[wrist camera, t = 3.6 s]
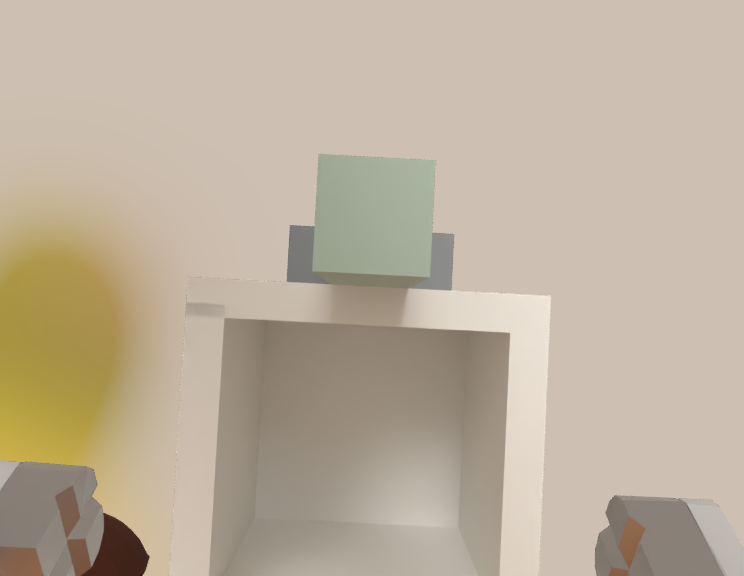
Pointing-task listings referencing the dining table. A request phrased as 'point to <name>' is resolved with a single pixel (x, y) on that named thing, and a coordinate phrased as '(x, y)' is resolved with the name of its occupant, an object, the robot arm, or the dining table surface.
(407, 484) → the tall white box
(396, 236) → the t-shaped bar
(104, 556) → the muffin
